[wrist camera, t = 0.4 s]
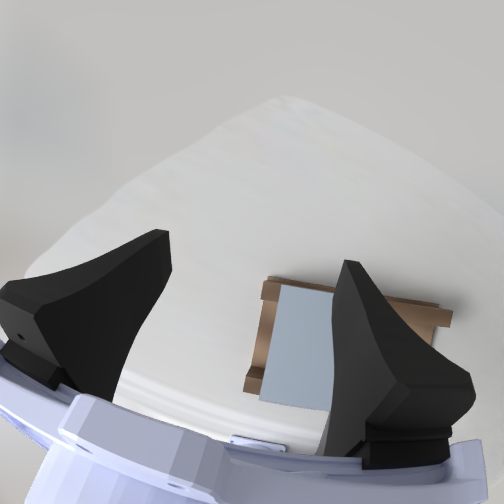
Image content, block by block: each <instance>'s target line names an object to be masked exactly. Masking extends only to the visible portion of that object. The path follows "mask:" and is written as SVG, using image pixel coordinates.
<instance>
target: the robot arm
mask: <svg viewBox="0 0 504 504" xmlns="http://www.w3.org/2000/svg"><path fill="white" fill-rule="evenodd" d="M171 272H172V263H171V252H170V240H169V231H166V230H159V229H155V230H152V231H150V232H148V233H145V234H143V235H141V236H139V237H137V238H136V239H134V240H132V241H130V242H128V243H126V244H124V245H122V246H120V247H118V248H116V249H114V250H112V251H110V252H108V253H106V254H104V255H102V256H100V257H97V258H95V259H93V260H90V261H88V262H85V263H83V264H80V265H78V266H75V267H72V268H68V269H65V270H62V271H59V272H55V273H52V274H48V275H43V276H39V277H34V278H28V279H21V280H13V281H8V282H7V283H6V284H5V285H4V286H3V287H2V288H1V289H0V325H1V327H2V328H3V330H4V332H5V333H6V335H7V337H8V338H9V340H8V341H7V343H6V344H5V343H4V342H3V341H2V340H1V339H0V415H1V416H2V417H3V418H4V419H6V420H7V421H8V422H9V423H11V424H12V425H13V426H14V427H16V428H17V429H18V430H19V431H21V432H22V433H23V434H25V435H26V436H28V437H29V438H30V439H31V440H33V441H34V442H35V443H37V444H38V445H40V446H41V447H43V448H44V449H46V450H47V451H48V453H47V455H46V457H45V459H44V461H43V463H42V465H41V467H40V469H39V471H38V473H37V475H36V478H35V480H34V482H33V484H32V486H31V488H30V490H29V493H28V495H27V497H26V499H25V502H24V504H480V503H482V502H484V501H486V500H487V499H488V489H487V479H486V470H485V462H484V455H483V449H482V443H481V440H480V439H476V440H470V441H464V442H458V443H455V444H452V445H450V446H449V442H448V438H450V437H451V436H452V427H451V426H452V425H453V424H454V423H455V422H457V421H458V420H459V419H460V418H461V417H462V416H463V415H464V414H466V413H467V412H468V410H469V409H470V408H471V407H472V405H473V404H474V402H475V400H476V393H475V390H474V386H473V383H472V379H471V376H470V373H469V372H467V371H465V370H464V369H462V368H461V367H459V366H458V365H456V364H454V363H453V362H451V361H450V360H448V359H447V358H446V357H444V356H443V355H442V354H440V353H439V352H438V351H436V350H435V349H434V348H433V347H431V346H430V345H429V344H428V343H427V342H425V341H424V340H423V339H422V338H421V337H420V336H419V335H418V334H417V333H416V332H415V331H413V330H412V329H411V328H410V326H409V325H408V324H407V323H406V322H405V321H404V320H403V319H402V318H401V317H400V316H399V315H398V314H397V312H396V311H395V310H394V309H393V308H392V306H391V305H390V304H389V303H388V301H387V300H386V299H385V297H384V296H383V295H382V293H381V292H380V291H379V289H378V288H377V287H376V285H375V284H374V282H373V281H372V279H371V278H370V277H369V275H368V274H367V272H366V271H365V269H364V268H363V266H362V265H361V264H360V262H357V261H351V260H345V259H344V263H343V266H342V269H341V273H340V276H339V279H338V283H337V286H336V289H335V292H334V295H333V299H332V317H331V322H332V338H333V354H334V383H333V395H332V404H331V413H330V420H329V427H328V433H327V439H326V445H325V450H324V455H323V456H314V455H303V454H293V453H285V450H286V447H285V446H284V445H279V444H273V443H268V442H262V441H257V440H252V439H247V438H243V437H238V436H234V435H232V436H230V438H229V442H228V443H227V442H222V441H218V440H214V439H212V438H210V437H208V436H206V435H203V434H200V433H197V432H195V431H192V430H189V429H186V428H183V427H179V426H176V425H173V424H169V423H166V422H163V421H160V420H157V419H154V418H151V417H148V416H145V415H142V414H139V413H137V412H134V411H131V410H129V409H126V408H123V407H121V406H118V405H116V404H113V403H112V401H113V397H114V393H115V390H116V387H117V384H118V381H119V378H120V375H121V372H122V369H123V366H124V364H125V361H126V358H127V356H128V353H129V351H130V349H131V346H132V344H133V342H134V339H135V337H136V335H137V333H138V331H139V329H140V328H141V326H142V324H143V323H144V321H145V319H146V318H147V316H148V314H149V313H150V311H151V310H152V308H153V306H154V305H155V303H156V302H157V300H158V298H159V297H160V295H161V293H162V292H163V290H164V288H165V286H166V284H167V282H168V279H169V277H170V275H171ZM231 441H234V442H231ZM280 450H282V452H281V451H280Z"/></svg>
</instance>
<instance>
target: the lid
mask: <svg viewBox="0 0 504 504" xmlns="http://www.w3.org/2000/svg"><path fill="white" fill-rule="evenodd" d="M333 295H334V293H330V292H324V291H318V290H312V289H306V288H300V287H295V286H289V285H283V284H282V285H281V291H280V296H279V301H278V307H277V312H276V317H275V322H274V328H273V333H272V338H271V343H270V348H269V353H268V358H267V363H266V367H265V372H264V377H263V382H262V386H261V391H260V396H259V400H260V401H265V402H270V403H275V404H281V405H287V406H293V407H299V408H306V409H313V410H321V411H329V412H330V410H331V404H332V395H333V383H334V354H333V338H332V322H331V317H332V299H333Z"/></svg>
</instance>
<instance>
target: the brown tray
mask: <svg viewBox="0 0 504 504" xmlns="http://www.w3.org/2000/svg"><path fill="white" fill-rule="evenodd" d="M282 284H283V285H289V286H295V287H300V288H306V289H312V290H318V291H324V292H330V293H334V292H335V289H336V288H333V287H327V286H321V285H315V284H309V283H303V282H298V281H292V280H286V279H281V278H275V277H269V276H268V279H267V281H264V283H263V288H262V294H261V299H262V300H264V301H263V306H262V311H261V317H260V322H259V327H258V333H257V338H256V343H255V348H254V353H253V359H252V364H251V367H250V369H249V371H248V373H247V375H246V378H245V383H244V388H243V392H247V393H251V394H256V395H260V391H261V386H262V382H263V377H264V372H265V367H266V363H267V358H268V353H269V348H270V343H271V338H272V333H273V328H274V322H275V317H276V312H277V307H278V301H279V296H280V291H281V285H282ZM384 297H385V299H386V300H387V301H388V303H389V304H390V305H391V306H392V308H393V309H394V310H395V311H396V312H397V314H398V315H399V316H400V317H401V318H402V319H403V320H404V321H405V322H406V323H407V324H408V325H409V326H410V328H411V329H412V330H413V331H415V332H416V333H417V334H418V335H419V336H420V337H421V338H422V339H423V340H424V341H425V342H427V343H428V344H429V345H430V344H431V340H432V336H433V331H434V327H435V326H440V327H449V328H450V324H451V319H452V314H453V311H451V310H446V309H441V308H438V306H439V304H435V303H428V302H421V301H415V300H408V299H402V298H395V297H389V296H384Z"/></svg>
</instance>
